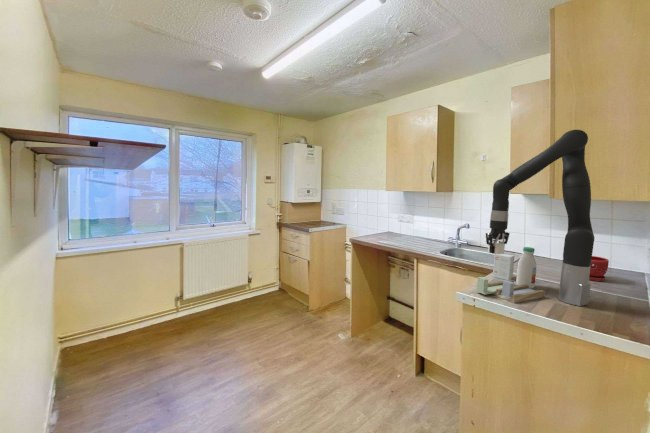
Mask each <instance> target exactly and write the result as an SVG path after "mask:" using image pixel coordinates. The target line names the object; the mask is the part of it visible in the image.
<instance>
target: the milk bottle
mask: <svg viewBox="0 0 650 433" xmlns="http://www.w3.org/2000/svg"><path fill="white" fill-rule="evenodd" d="M522 250H523V251H522V252H523V253H522V255H521V256H520V258H519V260H518V264H517V270H516V279H515V281H516V282H515V285H517V286H520V285H529V288H530V289H534V288H535V284H536V276H537V261H536V258H535V255H534V253H535V250H536V249H535V248H534V247H529V246H524V247H523V249H522Z"/></svg>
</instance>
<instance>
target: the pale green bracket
mask: <svg viewBox="0 0 650 433" xmlns="http://www.w3.org/2000/svg"><path fill="white" fill-rule="evenodd" d="M488 283H489V279H488V278H486V277H484V276H478V277H477V282H476V288H475V292H478V293H480V294H482V295H490V294H491V293H496V289H501V288H502V287H503V285H498V286H492V287H488ZM491 295H492V294H491Z"/></svg>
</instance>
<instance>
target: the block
mask: <svg viewBox="0 0 650 433" xmlns="http://www.w3.org/2000/svg"><path fill="white" fill-rule="evenodd" d="M492 243H493V242H492ZM487 245H488V244H487ZM505 245H506V244H503V243H498V241H497V242H496V244H495V252H494V254H493V255H495V254H505V249H506V248H505V247H506V246H505ZM489 249H490V245H488V247H487V253H489V254H491V253H490V252H489Z"/></svg>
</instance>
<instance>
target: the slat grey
mask: <svg viewBox="0 0 650 433" xmlns="http://www.w3.org/2000/svg"><path fill="white" fill-rule="evenodd" d="M502 281H503V287H502V293H500V295H502V296H505V297H507V298H510V299H511V295H516V294H522V293H527V292H533V291H536V290H535V289H533V288H527V289H521V290H515V291H514V285H515V282H514V283H513V282H510V281H507V280H502Z"/></svg>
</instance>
